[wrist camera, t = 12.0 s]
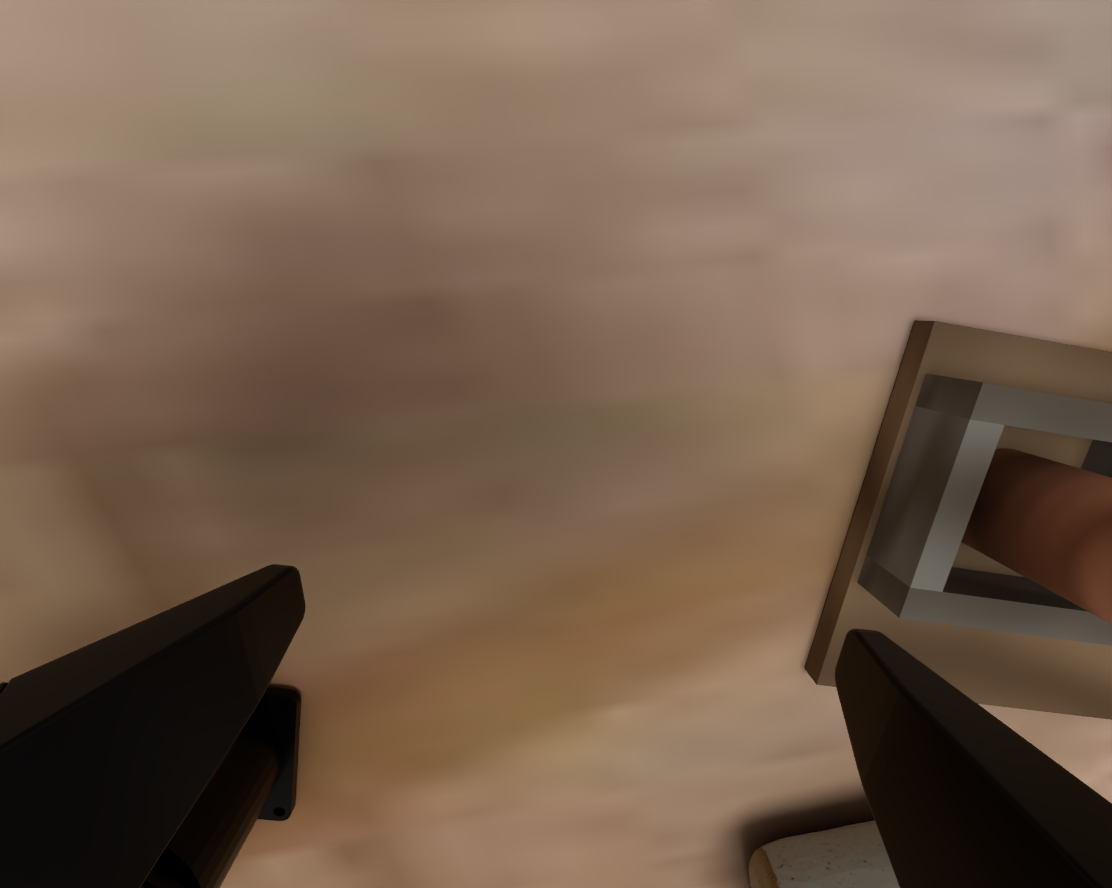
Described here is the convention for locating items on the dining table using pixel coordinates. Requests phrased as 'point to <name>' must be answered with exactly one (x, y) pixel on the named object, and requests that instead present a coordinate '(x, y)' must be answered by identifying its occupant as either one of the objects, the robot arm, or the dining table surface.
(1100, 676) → the socket board
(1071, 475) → the peg
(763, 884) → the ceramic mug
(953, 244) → the dining table surface
